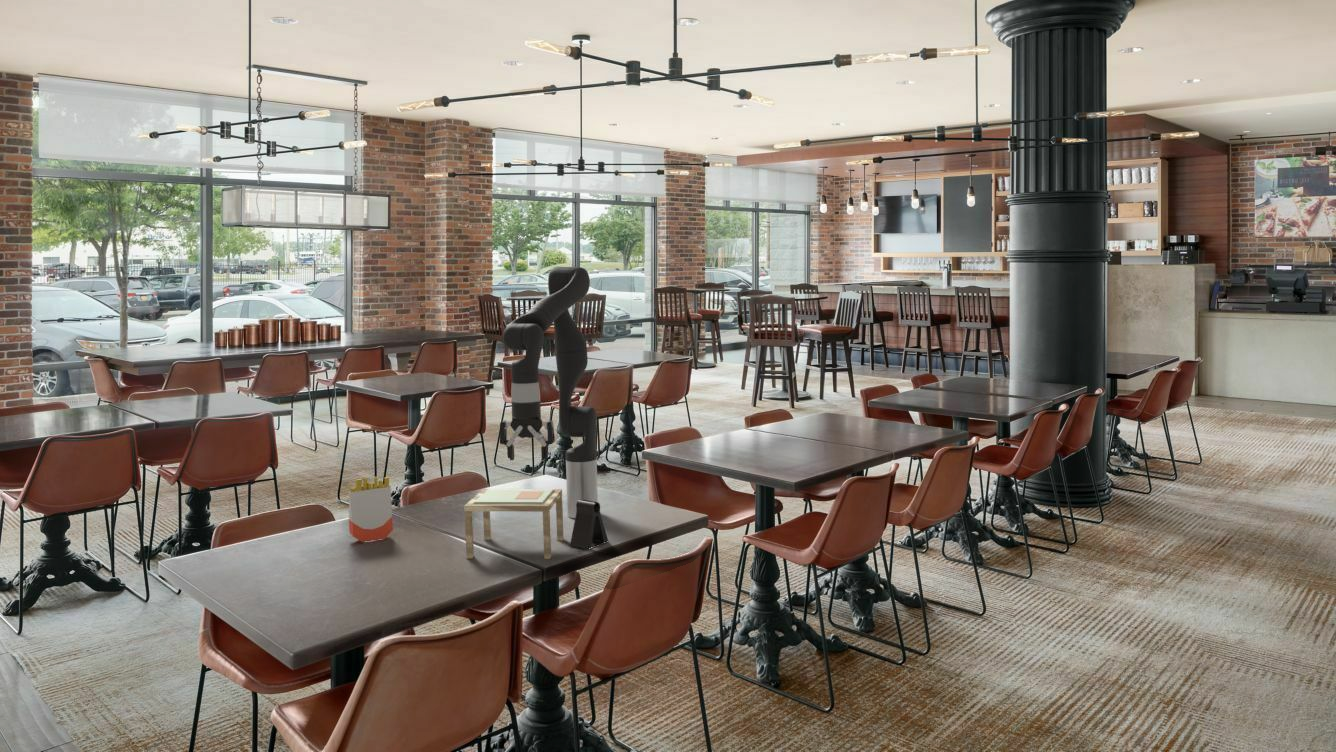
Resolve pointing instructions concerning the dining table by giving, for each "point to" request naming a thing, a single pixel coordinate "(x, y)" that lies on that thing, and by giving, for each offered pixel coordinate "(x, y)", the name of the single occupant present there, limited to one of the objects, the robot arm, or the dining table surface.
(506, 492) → the pale green book
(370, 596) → the dining table surface
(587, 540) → the black a-frame stand
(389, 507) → the french fries container
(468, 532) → the miniature wooden table
